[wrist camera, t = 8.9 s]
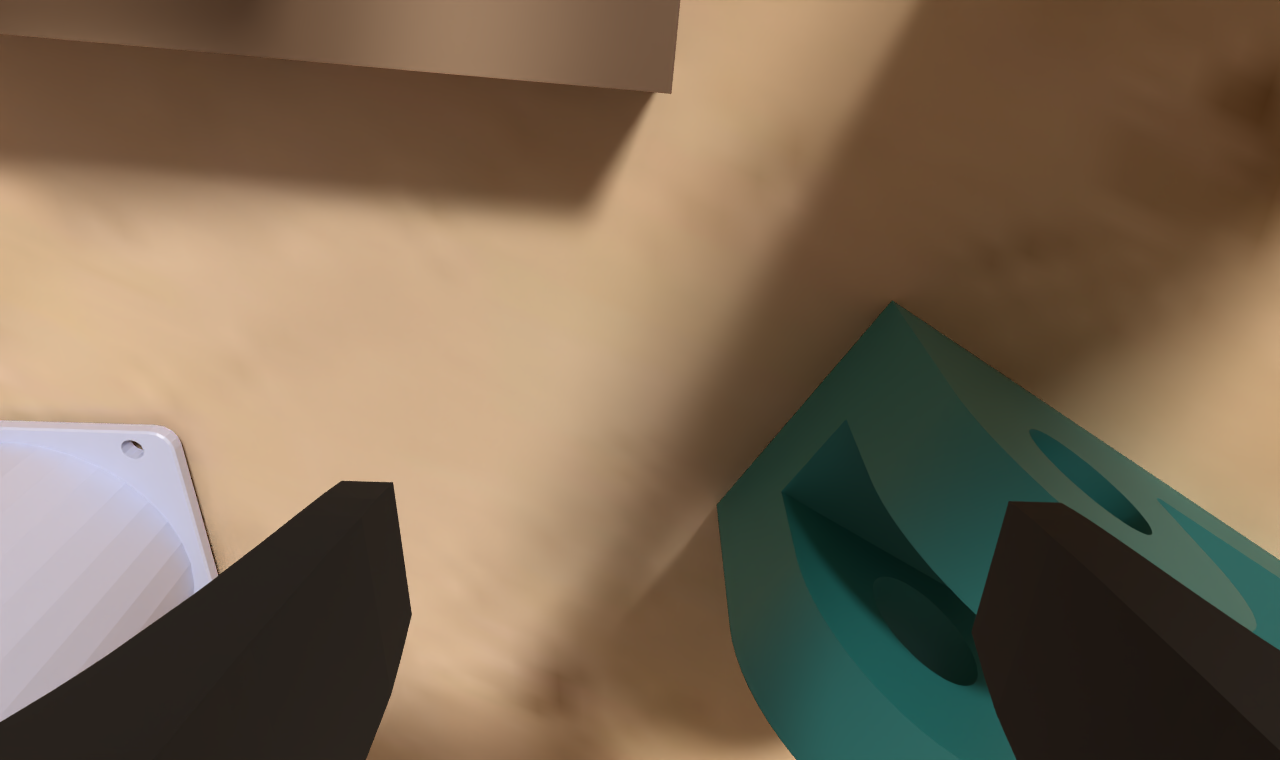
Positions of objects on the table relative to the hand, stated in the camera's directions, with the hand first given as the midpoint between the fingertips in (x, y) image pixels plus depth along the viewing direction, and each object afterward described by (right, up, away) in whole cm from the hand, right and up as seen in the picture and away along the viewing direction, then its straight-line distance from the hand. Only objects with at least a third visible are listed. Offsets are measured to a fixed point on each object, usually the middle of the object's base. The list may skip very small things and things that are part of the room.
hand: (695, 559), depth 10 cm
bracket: (+11, -3, +12) cm, 17 cm away
